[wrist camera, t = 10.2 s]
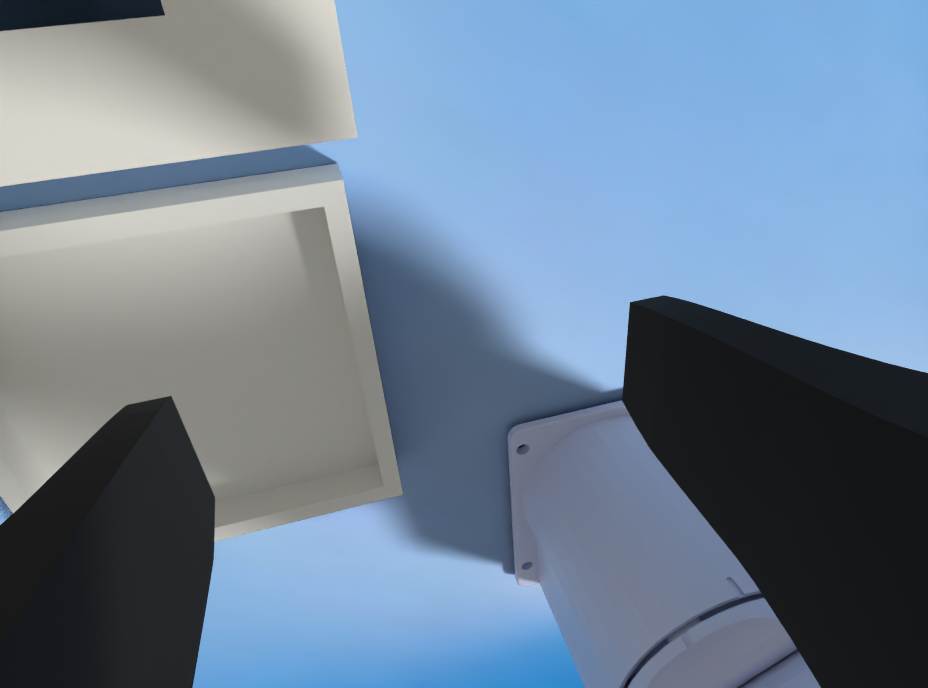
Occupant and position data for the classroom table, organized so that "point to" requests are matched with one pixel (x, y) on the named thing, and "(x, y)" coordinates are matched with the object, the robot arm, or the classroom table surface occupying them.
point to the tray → (199, 341)
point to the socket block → (171, 87)
